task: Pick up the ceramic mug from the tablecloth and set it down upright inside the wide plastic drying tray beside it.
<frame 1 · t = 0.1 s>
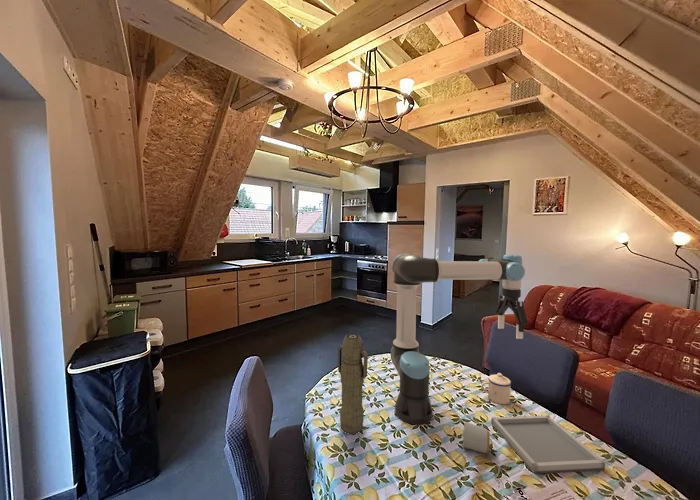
hand: (509, 333, 132), 28 cm above the table, fingers open, 13 cm apart
drying tray: (541, 444, 99), on the table
teacup with lid: (495, 399, 127), on the table
thermos: (351, 427, 107), on the table
ceramic mug: (474, 445, 99), on the table
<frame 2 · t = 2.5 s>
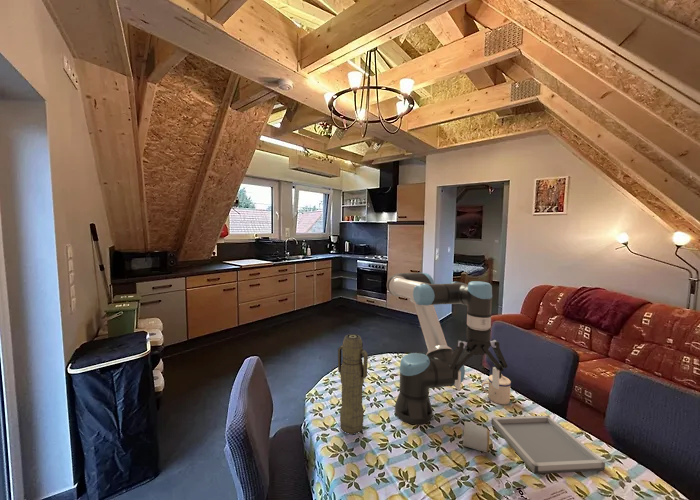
hand: (476, 387, 97), 21 cm above the table, fingers open, 13 cm apart
nothing on the table moved.
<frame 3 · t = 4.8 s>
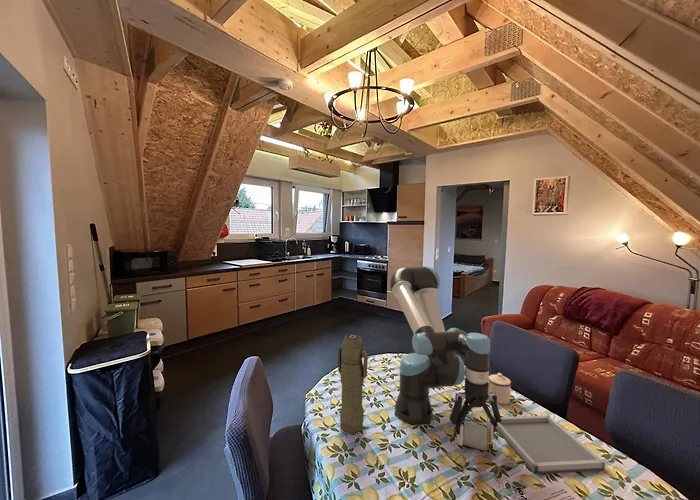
hand: (474, 441, 98), 1 cm above the table, fingers closed on ceramic mug, 10 cm apart
ceramic mug: (474, 443, 100), on the table, touching gripper
everything else where it was.
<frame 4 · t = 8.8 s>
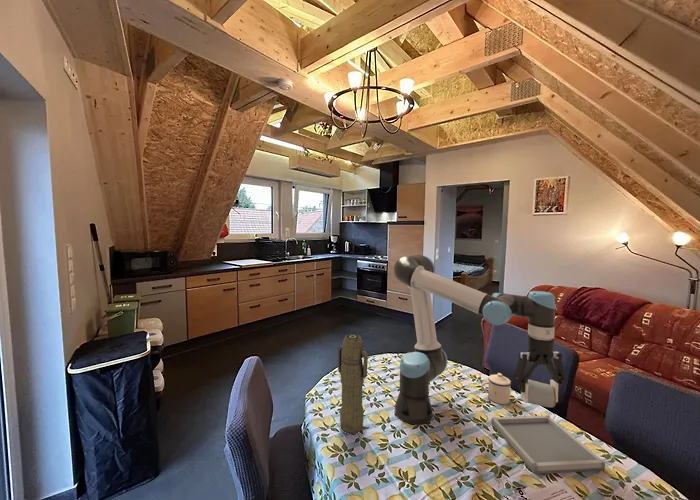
hand: (539, 400, 98), 16 cm above the table, fingers closed on ceramic mug, 10 cm apart
ceramic mug: (537, 402, 99), point 15 cm above the table, touching gripper
everything else where it was.
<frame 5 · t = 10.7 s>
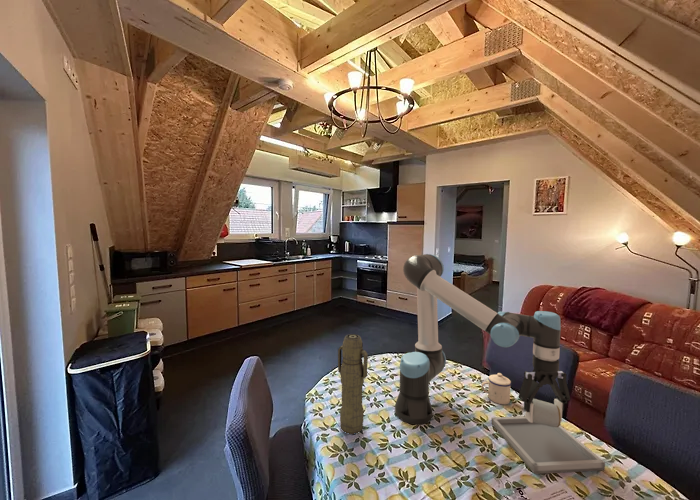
hand: (543, 419, 99), 9 cm above the table, fingers closed on ceramic mug, 10 cm apart
ceramic mug: (542, 421, 100), point 8 cm above the table, touching gripper
everything else where it was.
when the fingers open (3 cm above the table, at t = 12.6 s): ceramic mug drops 1 cm, resting on drying tray.
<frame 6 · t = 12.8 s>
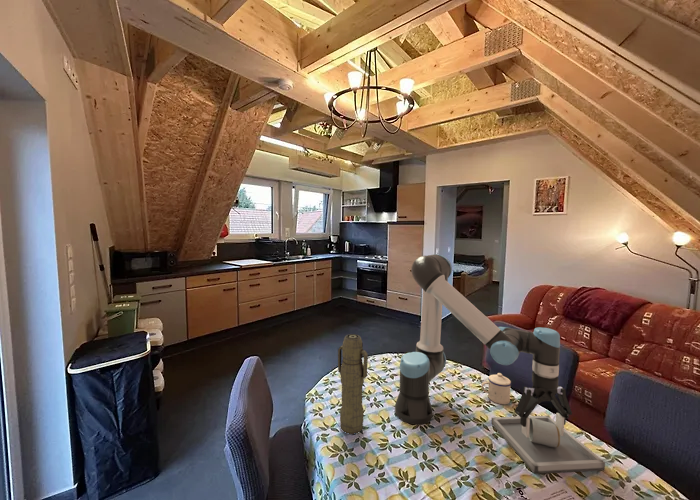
hand: (542, 434, 99), 4 cm above the table, fingers open, 12 cm apart
ceramic mug: (541, 440, 100), point 1 cm above the table, touching drying tray
everything else where it was.
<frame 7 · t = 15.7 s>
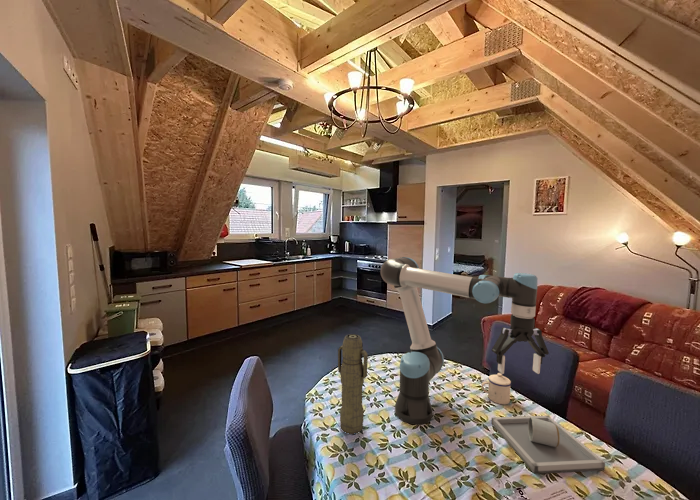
hand: (518, 372, 105), 23 cm above the table, fingers open, 13 cm apart
nothing on the table moved.
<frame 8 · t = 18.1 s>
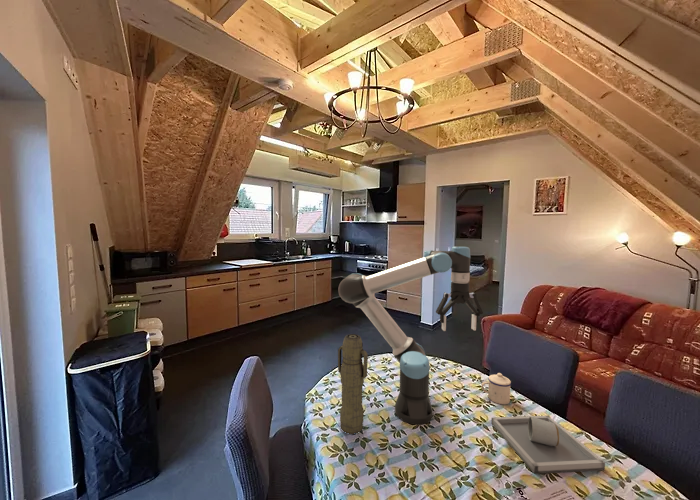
hand: (458, 329, 124), 32 cm above the table, fingers open, 13 cm apart
nothing on the table moved.
at the end: ceramic mug inside the target area on the drying tray (1.7 cm from its centre), point 0.6 cm above the drying tray's base; ceramic mug tilted 0°; the gripper is holding nothing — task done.
